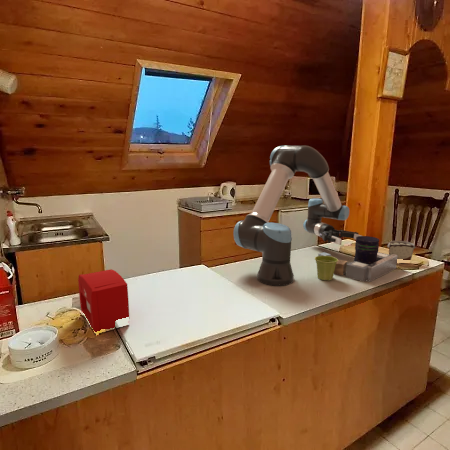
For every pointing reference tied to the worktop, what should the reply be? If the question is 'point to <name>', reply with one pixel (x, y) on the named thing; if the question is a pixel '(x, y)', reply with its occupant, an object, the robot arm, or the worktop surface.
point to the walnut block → (340, 267)
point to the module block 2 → (381, 256)
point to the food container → (401, 249)
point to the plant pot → (325, 267)
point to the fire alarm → (103, 298)
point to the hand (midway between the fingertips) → (352, 240)
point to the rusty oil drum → (366, 249)
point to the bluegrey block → (324, 254)
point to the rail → (381, 267)
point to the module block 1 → (356, 270)
